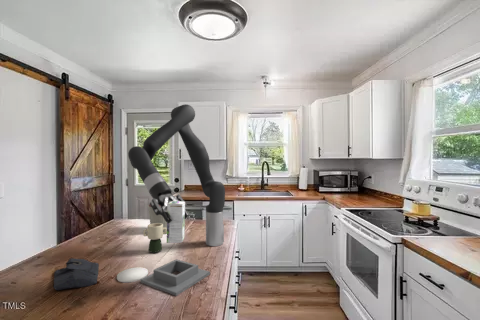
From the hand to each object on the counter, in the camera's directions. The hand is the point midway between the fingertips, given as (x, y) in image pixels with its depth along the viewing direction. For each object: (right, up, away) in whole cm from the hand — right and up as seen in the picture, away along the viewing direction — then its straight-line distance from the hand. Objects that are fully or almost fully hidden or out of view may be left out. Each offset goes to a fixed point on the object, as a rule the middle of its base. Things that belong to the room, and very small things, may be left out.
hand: (178, 219), depth 93 cm
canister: (-26, -23, +64) cm, 73 cm away
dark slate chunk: (-40, -23, +2) cm, 46 cm away
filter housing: (-1, -22, +1) cm, 22 cm away
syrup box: (-1, -8, +1) cm, 8 cm away
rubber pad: (-18, -22, +3) cm, 29 cm away
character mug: (-18, -23, +28) cm, 41 cm away
